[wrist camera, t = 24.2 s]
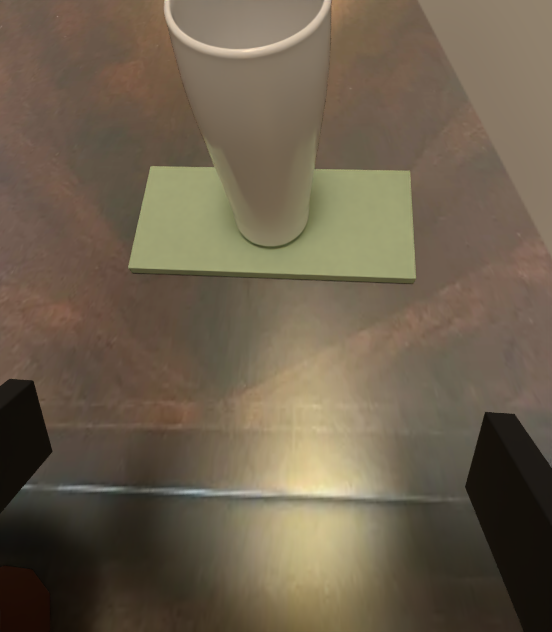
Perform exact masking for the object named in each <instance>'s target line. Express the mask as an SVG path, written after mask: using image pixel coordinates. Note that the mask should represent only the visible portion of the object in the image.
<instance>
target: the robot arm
mask: <svg viewBox="0 0 552 632" xmlns="http://www.w3.org/2000/svg"><path fill="white" fill-rule="evenodd" d="M51 453H52V448H51V444H50V441H49V437H48V433H47V430H46V426H45V422H44V419H43V415H42V411H41V407H40V404H39V400H38V396H37V393H36V389H35V385H34V382H33V381H32V380H17V379H9V380H7V381H6V382H5V383H4V384H2V385H1V386H0V513H1V512H2V511H3V510H4V508H5V507H6V506H7V505H8V504H9V503H10V501H11V500H12V499H13V498H14V497H15V495H16V494H17V493H18V492H19V491H20V489H21V488H22V487H23V486H24V485H25V484H26V482H27V481H28V480H29V479H30V478H31V476H32V475H33V474H34V473H35V472H36V471H37V469H38V468H39V467H40V466H41V465H42V463H43V462H44V461H45V460H46V459H47V458H48V456H49V455H50V454H51ZM465 488H466V490H467V493H468V495H469V498H470V500H471V503H472V505H473V507H474V510H475V512H476V515H477V517H478V520H479V522H480V525H481V527H482V530H483V532H484V535H485V537H486V540H487V542H488V545H489V547H490V549H491V552H492V554H493V557H494V559H495V562H496V564H497V567H498V569H499V572H500V574H501V577H502V579H503V582H504V584H505V586H506V589H507V591H508V594H509V596H510V599H511V601H512V604H513V606H514V609H515V611H516V614H517V616H518V619H519V621H520V623H521V626H522V628H523V631H524V632H552V468H551V467H550V465H549V464H548V462H547V461H546V459H545V458H544V456H543V455H542V453H541V452H540V451H539V449H538V448H537V446H536V445H535V443H534V442H533V440H532V439H531V437H530V436H529V435H528V433H527V432H526V430H525V429H524V427H523V426H522V424H521V423H520V421H519V420H518V418H517V417H516V416H515V414H507V413H492V412H485V415H484V418H483V422H482V426H481V430H480V433H479V437H478V441H477V445H476V448H475V452H474V456H473V459H472V463H471V467H470V471H469V474H468V478H467V482H466V486H465Z"/></svg>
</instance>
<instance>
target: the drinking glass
mask: <svg viewBox="0 0 552 632" xmlns="http://www.w3.org/2000/svg"><path fill="white" fill-rule="evenodd" d="M331 3H332V0H165V1H164V16H165V20H166V23H167V27H168V31H169V35H170V39H171V43H172V47H173V51H174V55H175V59H176V63H177V66H178V70H179V73H180V77H181V80H182V84H183V87H184V90H185V93H186V96H187V99H188V102H189V105H190V107H191V110H192V113H193V115H194V118H195V120H196V123H197V125H198V128H199V130H200V133H201V135H202V138H203V140H204V142H205V145H206V147H207V150H208V152H209V154H210V157H211V159H212V162H213V164H214V166H215V169H216V171H217V174H218V176H219V179H220V181H221V184H222V186H223V188H224V191H225V193H226V196H227V198H228V201H229V204H230V206H231V209H232V212H233V216H234V219H235V223H236V225H237V227H238V229H239V231H240V232H241V234H242V235H243V236H244V237H245V238H247V239H248V240H249V241H251V242H253V243H255V244H258V245H261V246H268V247H273V246H280V245H284V244H286V243H289V242H291V241H292V240H294V239H295V238H296V237H298V236H299V235H300V234H301V232H302V231H303V230H304V228H305V226H306V224H307V222H308V218H309V206H310V195H311V188H312V182H313V176H314V169H315V163H316V157H317V151H318V145H319V139H320V133H321V127H322V121H323V115H324V109H325V102H326V95H327V86H328V77H329V65H330V49H331Z"/></svg>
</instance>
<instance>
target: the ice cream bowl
mask: <svg viewBox="0 0 552 632" xmlns="http://www.w3.org/2000/svg"><path fill="white" fill-rule="evenodd" d="M0 632H50V593H49V592H48V590H47V589H46V588H45V586H44V585H43V584H42V582H41V581H40V579H39V578H38V577H37V575H36V574H35V573H34V571H33V570H32V569H25V568H18V567H11V566H2V567H0Z"/></svg>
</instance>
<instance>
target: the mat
mask: <svg viewBox="0 0 552 632" xmlns="http://www.w3.org/2000/svg"><path fill="white" fill-rule="evenodd" d="M128 268H129V269H130V271H131V272H132V273H152V274H178V275H204V276H230V277H256V278H282V279H308V280H334V281H360V282H386V283H412V284H413V283H414V281H415V279H416V269H415V251H414V233H413V215H412V197H411V179H410V171H392V170H334V169H314V176H313V182H312V188H311V195H310V206H309V218H308V222H307V224H306V226H305V228H304V230H303V231H302V232H301V234H300V235H299V236H298V237H296V238H295V239H294V240H292V241H291V242H289V243H286V244H284V245H280V246H273V247H268V246H261V245H258V244H255V243H253V242H251V241H249V240H248V239H247V238H245V237H244V236H243V235H242V234H241V232H240V231H239V229H238V227H237V225H236V223H235V219H234V216H233V212H232V209H231V206H230V204H229V201H228V198H227V196H226V193H225V191H224V188H223V186H222V184H221V181H220V179H219V176H218V174H217V171H216V169H215V167H161V166H151V167H150V172H149V176H148V181H147V185H146V190H145V194H144V199H143V203H142V208H141V212H140V217H139V221H138V226H137V230H136V235H135V239H134V244H133V248H132V253H131V257H130V262H129V266H128Z"/></svg>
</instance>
